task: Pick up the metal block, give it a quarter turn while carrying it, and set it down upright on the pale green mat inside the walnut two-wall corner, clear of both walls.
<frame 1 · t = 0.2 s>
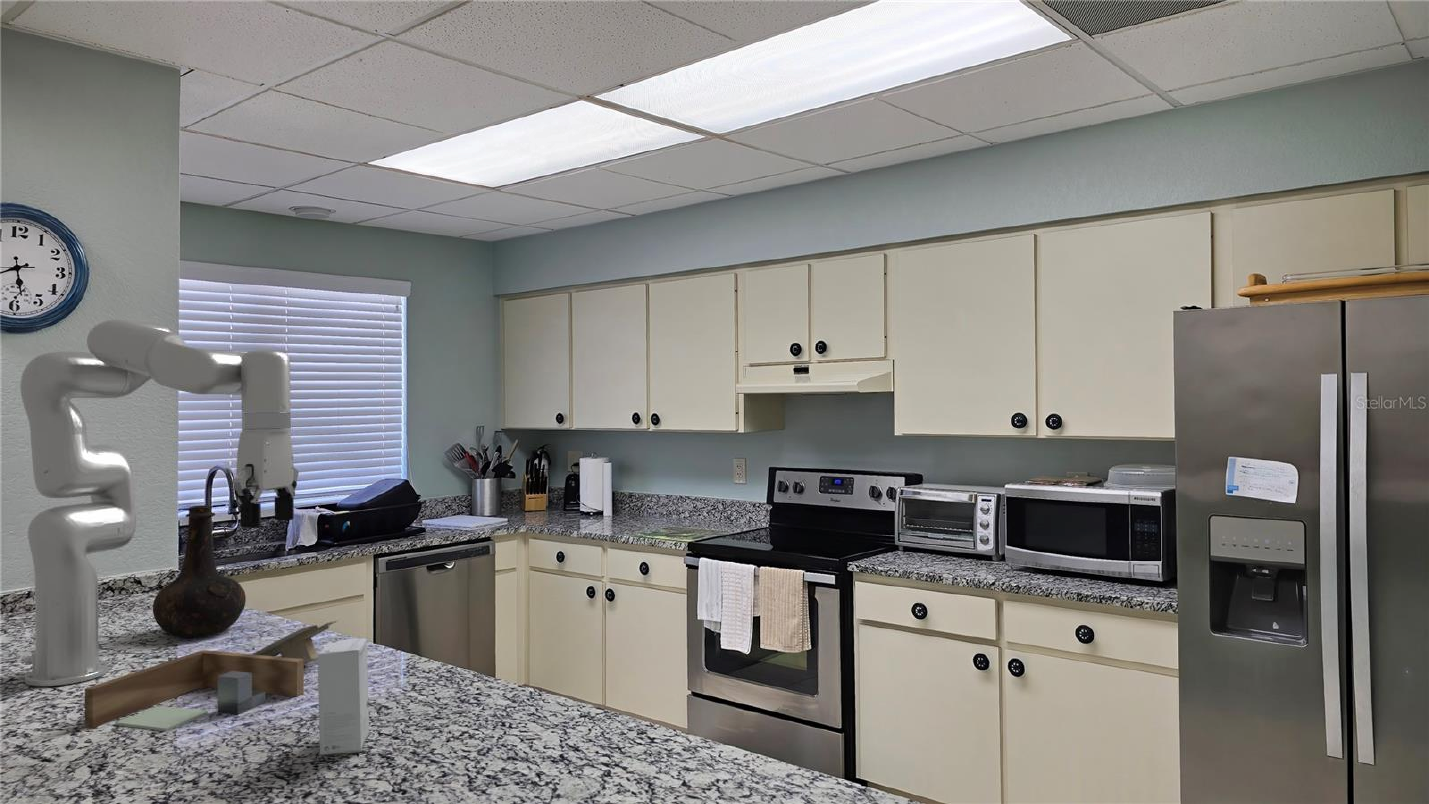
hand: (268, 523, 155), 30 cm above the countertop, tool pointing down, fingers open, 9 cm apart
glass bottle: (200, 634, 199), on the countertop
skincare box: (344, 745, 135), on the countertop
pad: (162, 719, 145), on the countertop
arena: (203, 708, 150), on the countertop
wall: (283, 669, 174), on the countertop
metal block: (242, 708, 151), on the countertop
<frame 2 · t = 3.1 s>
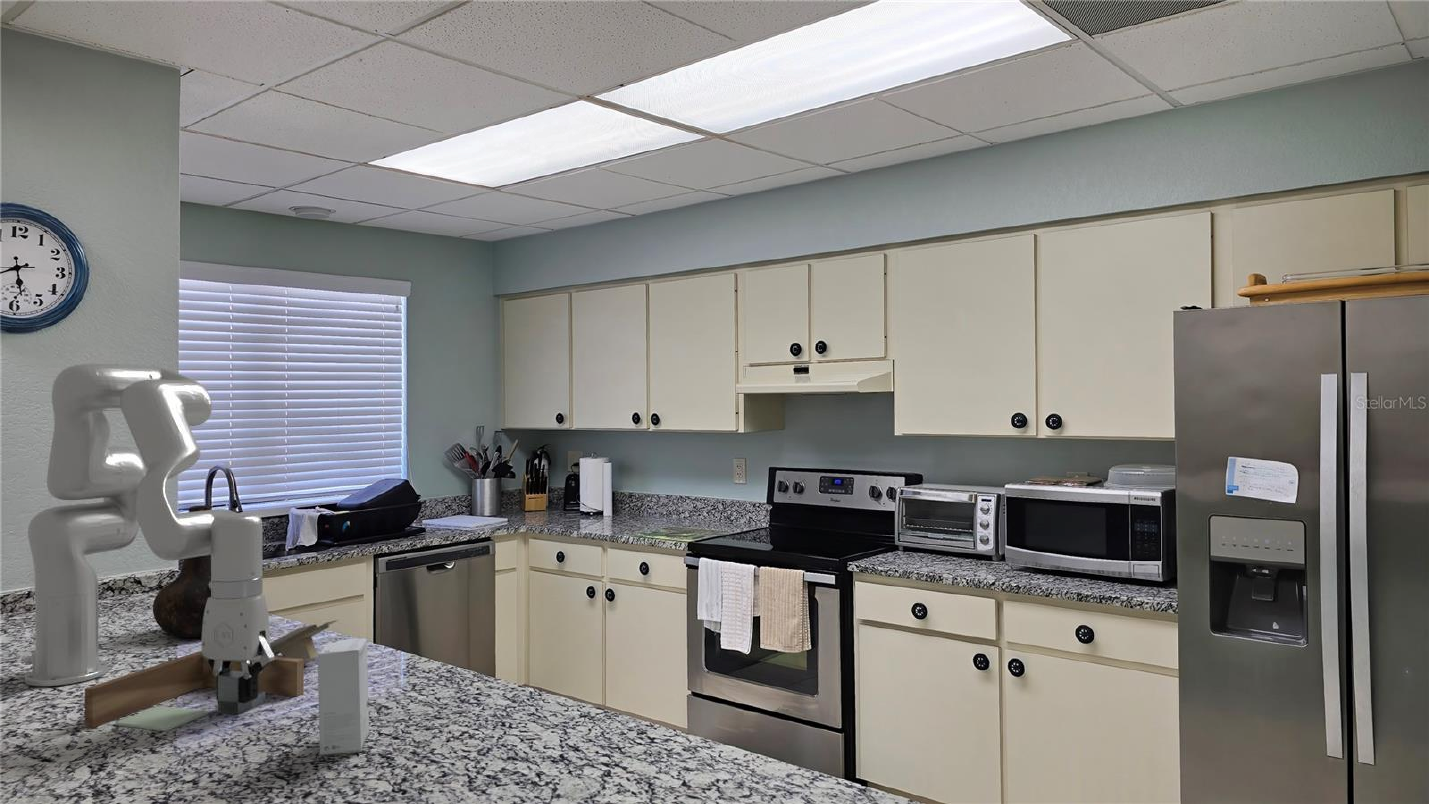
hand: (237, 698, 150), 2 cm above the countertop, tool pointing down, fingers closed on metal block, 4 cm apart
metal block: (242, 707, 151), on the countertop, touching gripper
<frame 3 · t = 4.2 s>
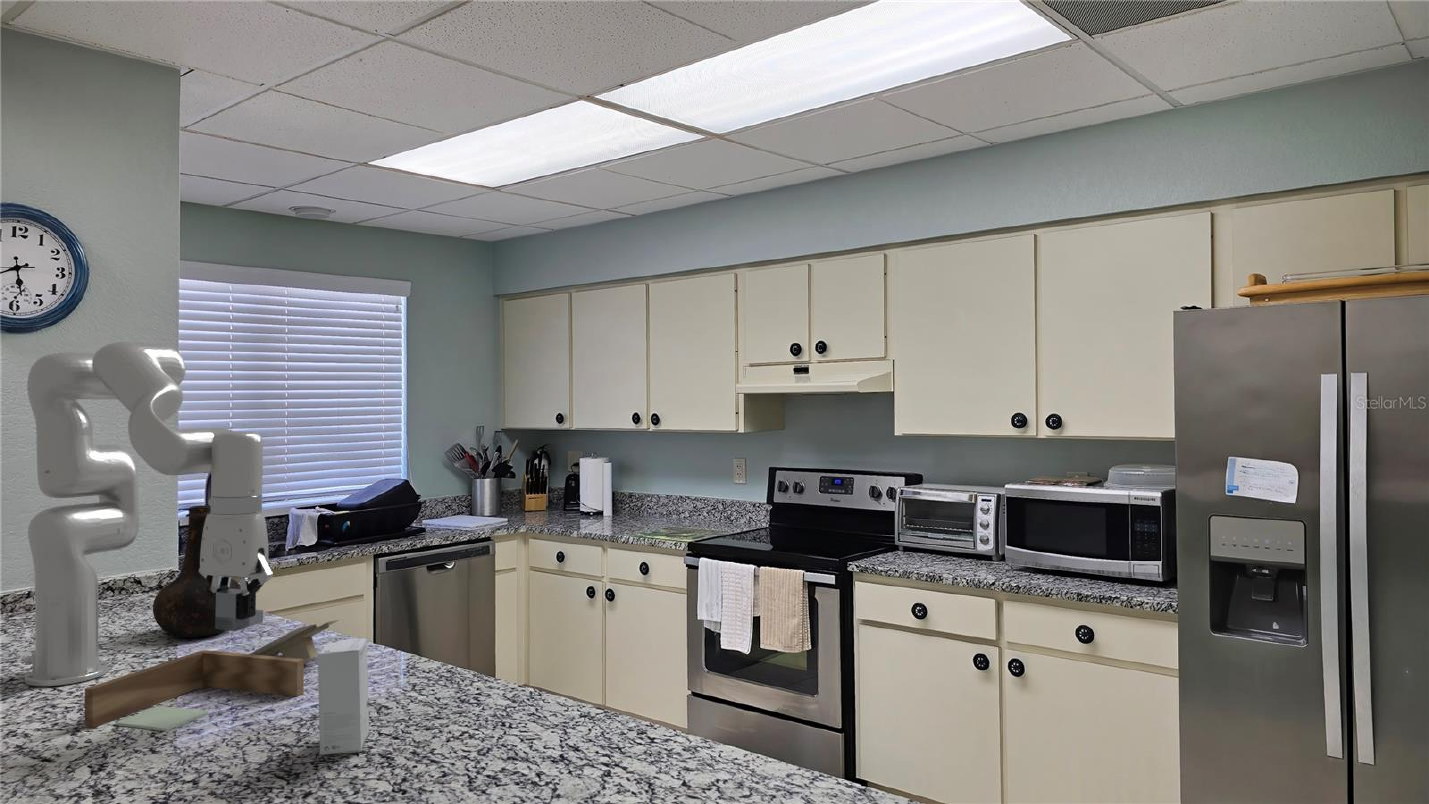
hand: (235, 615, 150), 16 cm above the countertop, tool pointing down, fingers closed on metal block, 4 cm apart
metal block: (239, 625, 151), point 14 cm above the countertop, touching gripper
everything else where it was.
when the fingers open (3 cm above the countertop, at t = 8.1 s): metal block stays where it is, resting on pad.
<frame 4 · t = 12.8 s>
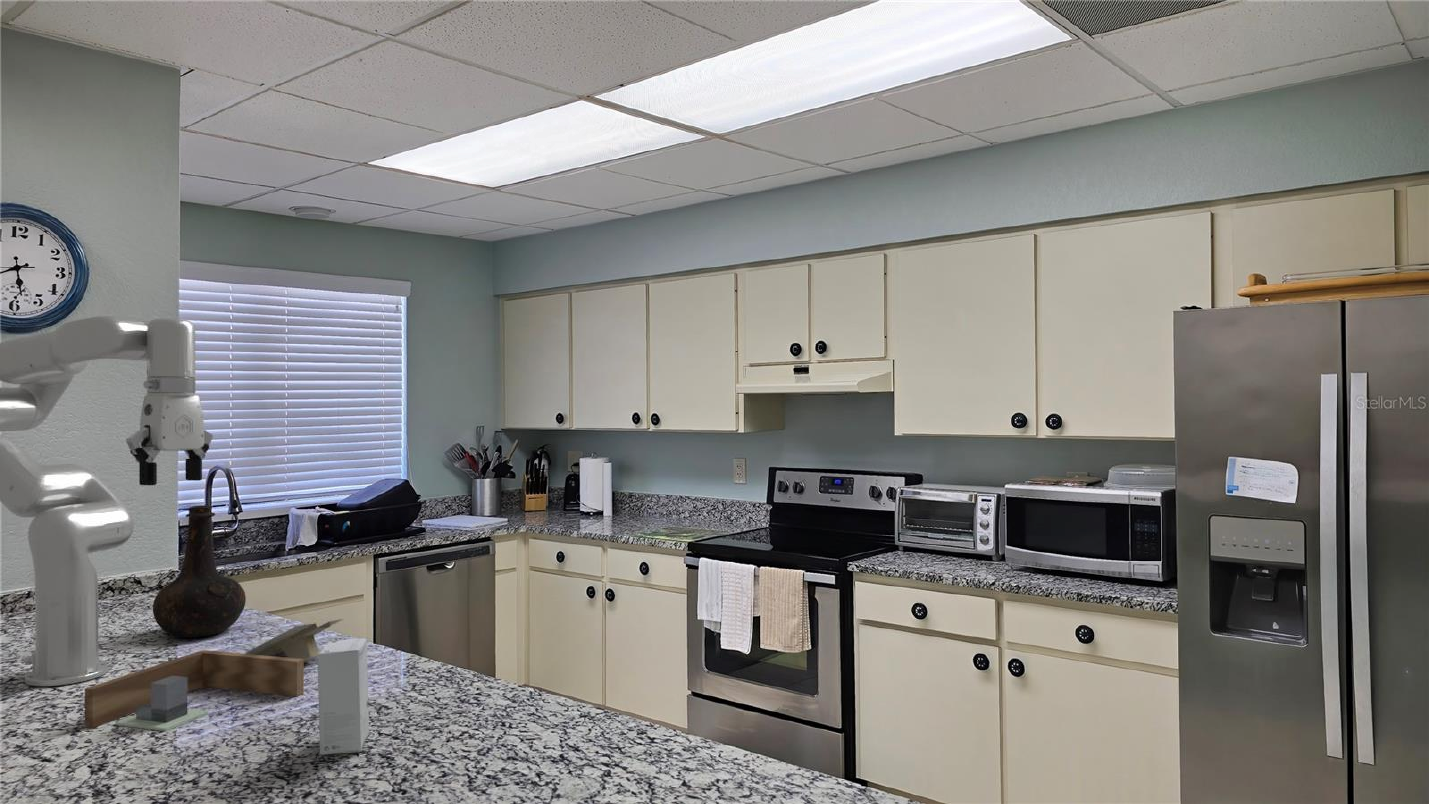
hand: (171, 482, 163), 36 cm above the countertop, tool pointing down, fingers open, 9 cm apart
wall: (287, 665, 176), on the countertop
metal block: (162, 716, 145), resting on pad
everything else where it was.
at the end: metal block inside the target area on the pad (0.1 cm from its centre), point 0.4 cm above the pad's base; metal block tilted 0°; metal block touching pad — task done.
